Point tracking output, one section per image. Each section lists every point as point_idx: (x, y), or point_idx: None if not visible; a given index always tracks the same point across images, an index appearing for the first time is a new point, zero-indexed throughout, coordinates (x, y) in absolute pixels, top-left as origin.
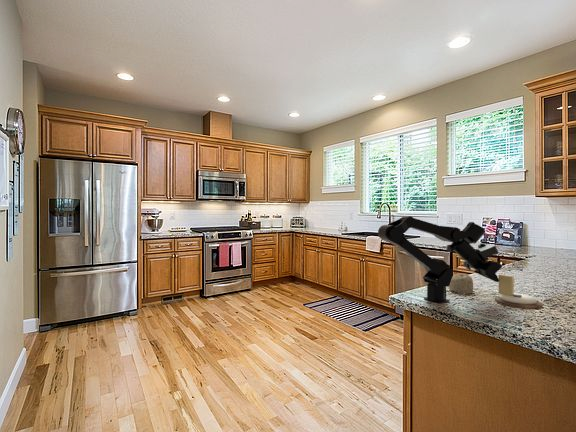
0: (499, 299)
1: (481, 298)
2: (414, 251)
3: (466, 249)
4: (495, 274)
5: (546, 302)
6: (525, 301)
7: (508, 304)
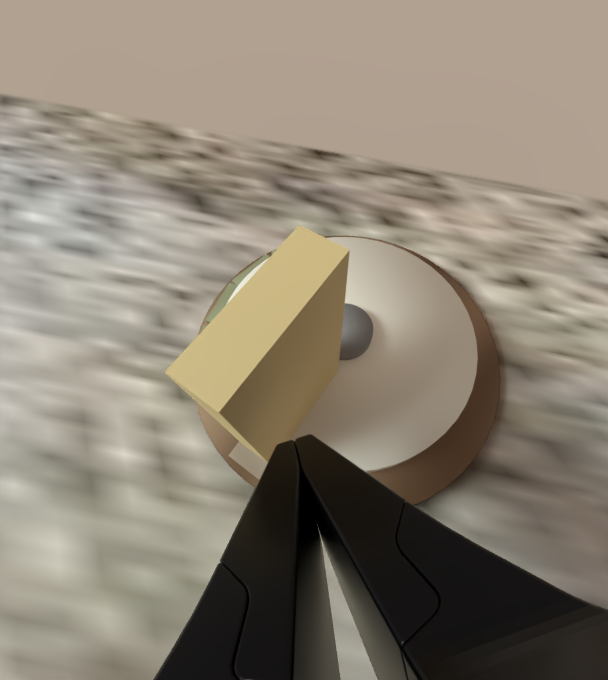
0: None
1: None
2: None
3: None
4: (399, 503)
5: (254, 212)
6: (465, 313)
7: (486, 436)
